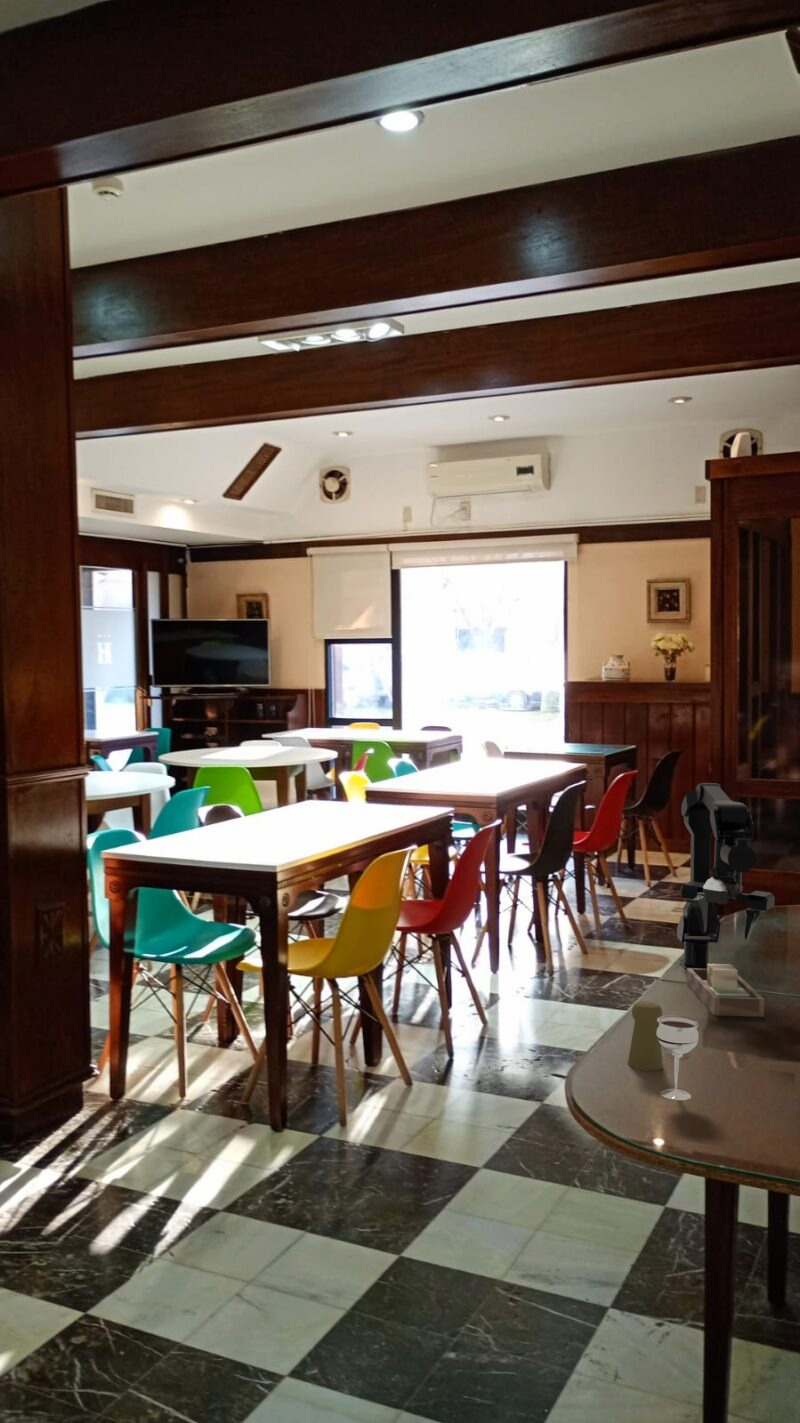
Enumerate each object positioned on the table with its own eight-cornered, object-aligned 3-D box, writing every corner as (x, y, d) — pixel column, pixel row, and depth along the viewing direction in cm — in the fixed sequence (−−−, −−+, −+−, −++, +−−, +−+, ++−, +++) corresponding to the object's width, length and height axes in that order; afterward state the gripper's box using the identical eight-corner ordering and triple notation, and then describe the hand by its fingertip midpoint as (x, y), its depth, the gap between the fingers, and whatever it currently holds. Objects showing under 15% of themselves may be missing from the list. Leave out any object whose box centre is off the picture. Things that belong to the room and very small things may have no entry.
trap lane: (686, 983, 255) (686, 968, 255) (731, 984, 255) (732, 969, 255) (714, 1015, 232) (714, 998, 232) (763, 1016, 232) (764, 999, 232)
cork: (660, 1059, 205) (662, 998, 204) (665, 1071, 199) (667, 1008, 198) (626, 1057, 205) (628, 996, 205) (629, 1069, 199) (631, 1006, 199)
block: (706, 982, 247) (707, 963, 247) (730, 982, 247) (730, 964, 247) (712, 988, 242) (713, 969, 242) (736, 989, 242) (737, 970, 242)
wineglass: (695, 1104, 184) (697, 1030, 183) (651, 1098, 186) (654, 1025, 186) (698, 1090, 190) (701, 1018, 190) (656, 1084, 192) (658, 1013, 192)
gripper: (671, 862, 243) (668, 935, 244) (759, 874, 233) (755, 951, 234) (691, 855, 252) (688, 925, 254) (777, 866, 242) (773, 940, 243)
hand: (725, 935), depth 246 cm, fingers open, 9 cm apart
